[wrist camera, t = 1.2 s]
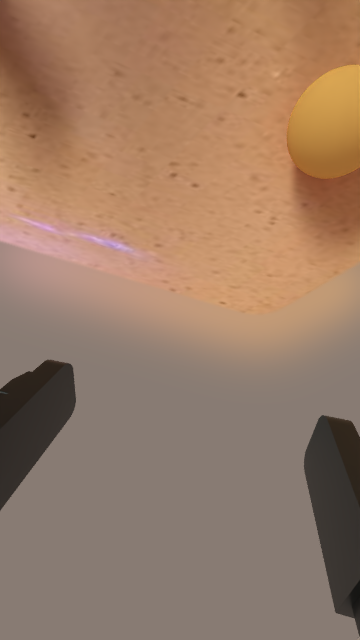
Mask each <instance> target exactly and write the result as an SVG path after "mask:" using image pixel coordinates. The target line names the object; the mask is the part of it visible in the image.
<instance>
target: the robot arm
mask: <svg viewBox="0 0 360 640" xmlns="http://www.w3.org/2000/svg"><path fill="white" fill-rule="evenodd" d="M75 403H76V397H75V385H74V374H73V367H72V365H71V364H69V363H64V362H59V361H54V360H46V361H44V362H43V363H42V364H41V365H40V366H39V367H37V368H36V369H35V370H34V371H33V372H30V371H29V372H26V373H25V374H22V375H20V376H18V377H16V378H14V379H12V380H11V381H10V382H9V383H7V384H6V385H5V386H4V387H3V388H1V389H0V510H1V509H2V507H3V506H4V505H5V503H6V502H7V501H8V499H9V498H10V497H11V495H12V494H13V493H14V491H15V490H16V489H17V487H18V486H19V485H20V483H21V482H22V481H23V479H24V478H25V477H26V475H27V474H28V473H29V472H30V470H31V469H32V467H33V466H34V465H35V464H36V462H37V461H38V460H39V458H40V457H41V456H42V454H43V453H44V452H45V450H46V449H47V448H48V446H49V445H50V443H51V442H52V441H53V440H54V438H55V437H56V435H57V434H58V433H59V432H60V430H61V429H62V427H63V426H64V425H65V424H66V422H67V421H68V419H69V418H70V417H71V415H72V413H73V411H74V407H75ZM304 469H305V475H306V480H307V484H308V489H309V494H310V498H311V503H312V507H313V512H314V516H315V521H316V525H317V530H318V535H319V539H320V544H321V548H322V553H323V557H324V562H325V566H326V571H327V576H328V580H329V585H330V589H331V594H332V598H333V603H334V607H335V612H336V613H338V614H342V615H345V616H349V617H352V618H355V621H356V625H357V629H358V632H359V637H358V639H357V640H360V437H359V435H358V433H357V431H356V428H355V426H354V425H353V423H352V422H351V421H349V420H344V419H339V418H334V417H329V416H324V415H322V416H321V417H320V418H319V420H318V422H317V424H316V427H315V430H314V432H313V435H312V437H311V439H310V442H309V444H308V447H307V449H306V452H305V459H304Z"/></svg>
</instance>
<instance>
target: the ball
mask: <svg viewBox="0 0 360 640" xmlns="http://www.w3.org/2000/svg"><path fill="white" fill-rule="evenodd" d="M287 146H288V150H289V154H290V156H291V158H292V160H293V162H294V163H295V165H296V166H297V167H298V168H299V169H300V170H301V171H303V172H304V173H306V174H308V175H310V176H313V177H316V178H322V179H330V178H336V177H340V176H344V175H346V174H349V173H351V172H353V171H355V170H356V169H358V168H359V167H360V65H346V66H342V67H339V68H336V69H333V70H331V71H329V72H327V73H325V74H324V75H322V76H321V77H319V78H318V79H317V80H316V81H314V82H313V83H312V84H311V85H310V86H309V87H308V88H307V89H306V90H305V92H304V93H303V94H302V95H301V97H300V98H299V100H298V102H297V103H296V105H295V107H294V109H293V111H292V114H291V117H290V120H289V124H288V129H287Z"/></svg>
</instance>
